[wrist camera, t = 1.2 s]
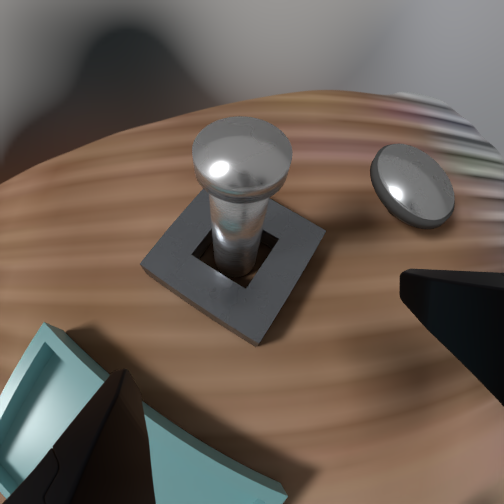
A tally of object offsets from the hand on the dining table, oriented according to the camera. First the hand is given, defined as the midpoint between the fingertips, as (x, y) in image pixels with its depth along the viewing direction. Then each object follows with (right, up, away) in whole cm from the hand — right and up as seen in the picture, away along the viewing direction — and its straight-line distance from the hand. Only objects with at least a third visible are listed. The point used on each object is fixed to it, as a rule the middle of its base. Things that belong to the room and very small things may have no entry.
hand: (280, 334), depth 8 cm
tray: (-12, -15, +7) cm, 20 cm away
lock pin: (-2, +2, +15) cm, 15 cm away
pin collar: (-2, +2, +15) cm, 15 cm away
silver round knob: (+13, +7, +19) cm, 24 cm away
